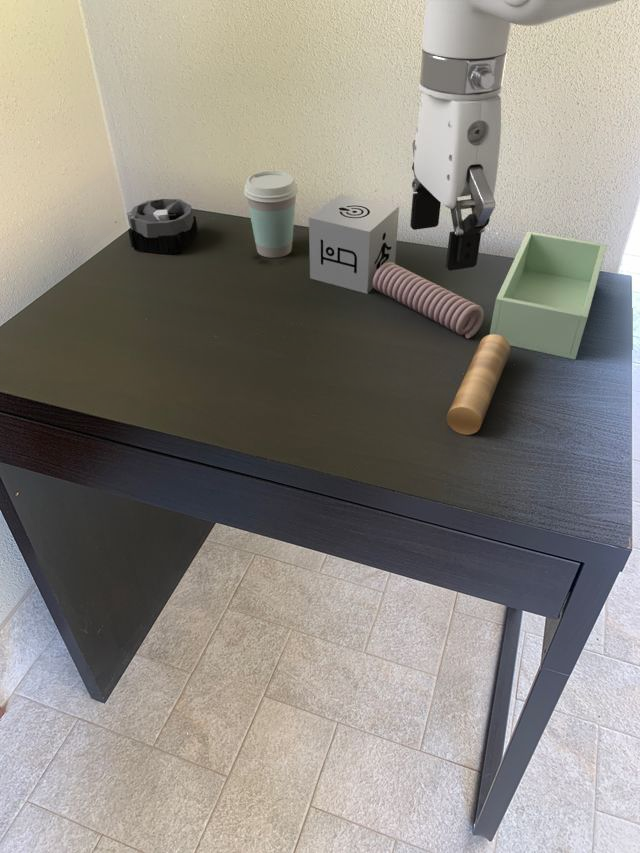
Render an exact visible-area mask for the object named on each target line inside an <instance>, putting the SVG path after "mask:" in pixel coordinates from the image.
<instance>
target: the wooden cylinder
mask: <svg viewBox="0 0 640 853" xmlns="http://www.w3.org/2000/svg"><path fill="white" fill-rule="evenodd" d="M510 352H511V345H510V344H509V342H508V341H507V340H506V339H505V338H504V337H502V336H500V335H496V334H491V335H490V334H488V335H485V336H483V337H482V339H481V340H480V342H479V344H478V346H477V348H476V350H475V353H474V355H473V357H472V360H470V363H469V365H468V368H467V371H466V372H465V375H464V378H463V379H462V381H461V383H460V386H459V388H458V390H457V391H456V395H454V396H455V397H454V399H453V401H452V403H451V406H450V408H449V410H448V412H447V415H446V422H447V424H448V426H449V428H451V429H452V430H453V431H454V432H456V433H457V434H460V435H467V436H469V435H474V434H476V433H477V432H478V431H479V430H480V429H481V427H482V424H483V422H484V419H485V417H486V414H487V413H488V412H487V411H488V409H489V407H490V404H491V401H492V399H493V396H494V394H495V391H496V388H497V387H498V384H499V381H500V379H501V375H502V373H503V371H504V369H505V366H506V364H507V361H508V358H509V356H510Z"/></svg>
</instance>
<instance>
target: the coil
mask: <svg viewBox="0 0 640 853" xmlns="http://www.w3.org/2000/svg"><path fill="white" fill-rule="evenodd" d="M381 273H382V274H381ZM373 286H374V288H373V289H374V290H376V291H378V292H380V293H381V294H383V295H385V296H387V297H389V298H390V299H393V300H395V301H396V302H399V303H400V304H402V305H404V306H405V307H408V308H409V309H411V310H414V311H415V312H416V313H418V314H420V315H422V316H425V318H427V319H428V318H429V319H430V320H431V321H434V322H435V323H437V324H440V325H441V326H442V327H446V329H448V330H451V331H452V332H453V333H457V335H459V336H465V338H466V339H471V338H473V337H474V336H475V335H476V334H477V333H478V331H479V330H480V328H481V327H482V324H483V320H484V310H483V308H482V306H481V305H479V304H476V303H475V302H473V301H470V300H469V299H467V298H464V297H463V296H460V295H458V294H457V293H454V292H453V291H451V290H448V289H446V288H445V287H442V286H441V285H438V284H436V283H435V282H432V281H430V280H429V279H426V278H424V277H423V276H420V275H419V274H416V273H415V272H411V271H410V270H408V269H406V268H404V267H402V266H400V265H398V264H396V263H395V264H394V263H392V262H388V263H385V264H383V265H382V266H380V267H379V269H378V270H377V271H376V273H375V275H374V278H373Z"/></svg>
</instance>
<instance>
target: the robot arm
mask: <svg viewBox="0 0 640 853" xmlns="http://www.w3.org/2000/svg"><path fill="white" fill-rule="evenodd" d="M620 1H622V0H425V5H424V19H423V30H422V42H421V43H422V44H421V57H420V68H419V69H420V71H419V81H418V83H419V84H418V90H419V91H420V92H421V97H420V98H421V99H420V104H419V109H418V117H417V122H416V123H417V124H416V131H415V132H416V133H415V139H414V140H413V141H412V156H413V162H412V166H411V169H412V171H413V176H414V178H413V180H412V182H411V189H412V192H413V193H412V199H411V200H412V201H411V209H410V210H411V213H410V224H409V225H410V228H411V229H412V230H414V231H417V230H423V229H424V230H425V229H431V228H437V227H438V226H439V223H440V214H441V207H442V206H441V205H443V206H444V207H445V208H447V209H449V210H450V215H451V216H450V217H451V222H452V227H453V231H449V235H448V242H447V251H446V259H445V268H446V269H447V270H448V271H449V272H451V271H456V270H457V271H458V270H464V269H471V268H475V267H476V266H477V264H478V258H479V252H480V246H481V240H482V233H485V231H486V227H487V226H488V225H489V223H490V219H491V216H492V214H493V213H494V210H495V208H496V200H495V191H496V184H497V175H498V169H499V168H498V167H499V158H500V157H499V156H500V147H501V135H502V98H501V96H500V94H501V93H502V89H503V88H502V87H503V83H504V82H503V81H504V77H505V76H504V75H505V68H506V64H507V58H508V57H507V56H508V49H509V44H510V37H511V30H512V25H513V24H514V25H517V26H523V27H539V26H543V25H547V24H551V23H554V22H557V21H562V20H564V19H567V18H570V17H573V16H577V15H580V14H584V13H587V12H588V13H589V12H592V11H596V10H599V9H602V8H605V7H608V6H611V5H613V4H616V3H618V2H620ZM469 196H470V198H468V199H459V200H458V198H462V197H469ZM466 209H471V213H470V214H468V215H467V216H465V218H464V219H463V215H462V210H466Z"/></svg>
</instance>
